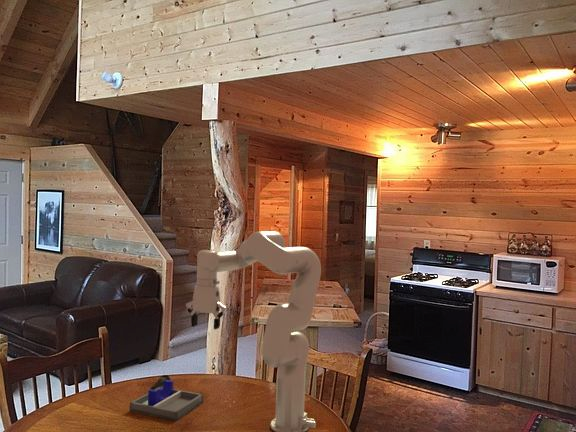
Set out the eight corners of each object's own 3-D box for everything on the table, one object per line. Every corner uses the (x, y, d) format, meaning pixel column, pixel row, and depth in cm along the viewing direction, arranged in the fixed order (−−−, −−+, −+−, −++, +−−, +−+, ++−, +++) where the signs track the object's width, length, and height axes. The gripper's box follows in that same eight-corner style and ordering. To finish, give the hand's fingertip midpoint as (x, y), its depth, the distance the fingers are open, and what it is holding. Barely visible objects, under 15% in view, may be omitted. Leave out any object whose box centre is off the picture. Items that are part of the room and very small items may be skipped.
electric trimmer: (147, 394, 194) (147, 386, 194) (162, 380, 209) (162, 373, 209) (156, 395, 193) (156, 387, 193) (171, 381, 209) (171, 373, 208)
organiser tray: (203, 402, 186) (203, 394, 186) (175, 421, 170) (175, 412, 169) (160, 394, 193) (160, 386, 193) (129, 411, 176) (129, 402, 176)
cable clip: (162, 395, 189) (162, 379, 189) (172, 396, 188) (173, 380, 188) (144, 406, 178) (144, 390, 178) (155, 408, 177) (155, 391, 176)
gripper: (231, 283, 193) (230, 327, 193) (192, 279, 199) (191, 322, 199) (221, 285, 186) (220, 332, 186) (181, 282, 192) (180, 326, 192)
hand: (205, 327), depth 193 cm, fingers open, 9 cm apart
